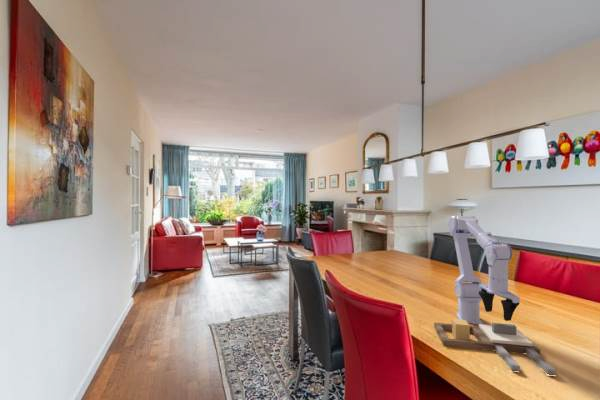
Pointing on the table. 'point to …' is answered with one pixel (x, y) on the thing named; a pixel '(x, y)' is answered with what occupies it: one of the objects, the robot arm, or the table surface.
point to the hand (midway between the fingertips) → (497, 315)
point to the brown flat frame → (494, 347)
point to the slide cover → (505, 334)
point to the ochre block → (460, 329)
